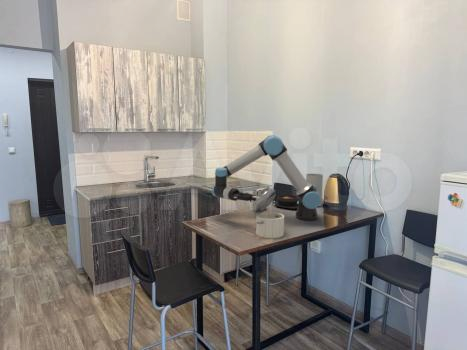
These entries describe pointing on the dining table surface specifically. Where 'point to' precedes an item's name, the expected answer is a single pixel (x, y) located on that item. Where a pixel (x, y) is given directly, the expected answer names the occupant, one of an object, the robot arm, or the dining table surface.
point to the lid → (264, 200)
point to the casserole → (287, 201)
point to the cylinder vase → (316, 182)
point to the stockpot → (269, 224)
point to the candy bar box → (258, 194)
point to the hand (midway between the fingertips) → (261, 200)
